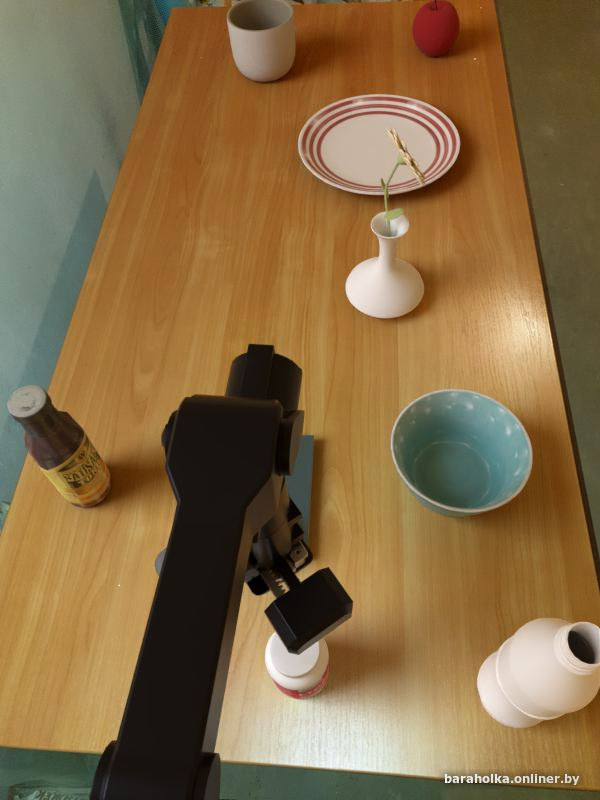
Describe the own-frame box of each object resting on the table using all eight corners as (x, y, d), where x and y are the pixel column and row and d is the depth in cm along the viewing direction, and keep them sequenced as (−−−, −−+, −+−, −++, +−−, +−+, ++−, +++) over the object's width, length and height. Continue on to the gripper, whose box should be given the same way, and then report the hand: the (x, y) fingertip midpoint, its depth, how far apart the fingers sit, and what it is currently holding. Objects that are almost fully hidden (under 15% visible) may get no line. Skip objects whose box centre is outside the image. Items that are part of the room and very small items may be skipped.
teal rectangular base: (306, 573, 73) (305, 565, 71) (220, 568, 74) (216, 560, 71) (314, 440, 82) (313, 429, 79) (237, 437, 83) (234, 426, 80)
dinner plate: (306, 106, 119) (305, 89, 116) (454, 107, 117) (457, 90, 114) (291, 207, 105) (290, 191, 102) (460, 211, 102) (463, 195, 100)
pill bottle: (304, 713, 65) (298, 701, 56) (260, 672, 68) (247, 653, 58) (341, 664, 68) (341, 644, 58) (297, 626, 70) (291, 600, 61)
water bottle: (471, 723, 64) (535, 689, 43) (473, 649, 68) (534, 584, 47) (544, 737, 63) (647, 709, 42) (543, 661, 67) (637, 600, 46)
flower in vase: (424, 326, 91) (449, 183, 69) (344, 324, 92) (345, 183, 70) (421, 258, 98) (443, 110, 76) (346, 258, 98) (348, 111, 77)
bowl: (392, 414, 83) (397, 380, 76) (515, 429, 81) (532, 395, 74) (379, 527, 75) (383, 500, 68) (516, 547, 73) (534, 521, 66)
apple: (459, 62, 124) (468, 8, 115) (412, 64, 124) (418, 11, 116) (452, 36, 129) (460, -18, 120) (408, 38, 129) (412, -15, 121)
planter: (236, 54, 130) (228, -3, 120) (297, 51, 129) (294, -7, 120) (233, 90, 123) (224, 33, 114) (297, 87, 122) (293, 29, 113)
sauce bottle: (95, 517, 78) (27, 442, 61) (55, 498, 80) (-22, 419, 63) (125, 473, 81) (68, 389, 64) (85, 455, 83) (20, 369, 66)
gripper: (102, 467, 50) (152, 537, 63) (220, 681, 41) (249, 710, 54) (224, 397, 53) (248, 478, 66) (359, 583, 44) (355, 633, 57)
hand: (270, 568), depth 61 cm, fingers closed
